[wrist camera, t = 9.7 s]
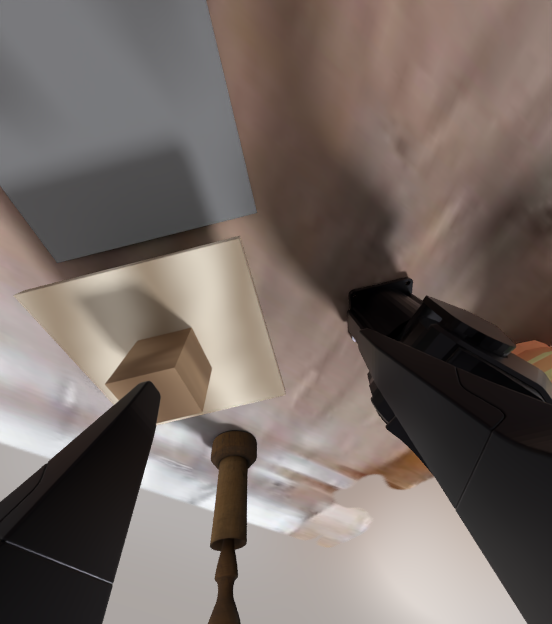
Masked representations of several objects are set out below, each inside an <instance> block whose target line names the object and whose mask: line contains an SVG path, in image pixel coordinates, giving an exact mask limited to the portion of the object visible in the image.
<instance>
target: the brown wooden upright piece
mask: <svg viewBox="0 0 552 624" xmlns="http://www.w3.org/2000/svg"><path fill="white" fill-rule="evenodd" d="M256 458H257V442H256V439H255V437H254V436H253V435H251V434H249V433H247V432H242V431H229V432H225V433H222V434H220V435H218V436H217V437H216V438H215V439H214V441H213V445H212V453H211V461H212V463H213V464H214V465H215V466H216V468H217V469H219V474H218V484H217V493H216V502H215V510H214V519H213V527H212V535H211V543H210V547H211V548H212V549H213V550H217V551H221V553H220V557H219V561H218V565H217V569H216V574H215V581H216V582H217V584H218V597H217V602H216V604H215V607H214V610H213V612H212V615H211V617H210V619H209V622H208V624H240V618H239V614H238V611H237V608H236V605H235V602H234V598H233V585H234V581H235V580H236V579H237V577H238V570H237V561H236V555H235V549H239V548H242V547H243V546H245V545H246V542H247V473H248V468H249V467H250V466H251V465H252V464H253V463H254V462H255V461H256Z"/></svg>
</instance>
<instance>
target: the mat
mask: <svg viewBox="0 0 552 624" xmlns="http://www.w3.org/2000/svg"><path fill="white" fill-rule="evenodd" d="M0 186H1V188H2V189H3V190H4V192H5V193H6V194H7V196H8V197H9V199H10V200H11V201H12V203H13V204H14V205H15V207H16V208H17V209H18V211H19V212H20V213H21V215H22V216H23V217H24V219H25V220H26V221H27V223H28V224H29V226H30V227H31V228H32V230H33V231H34V232H35V234H36V235H37V236H38V238H39V239H40V240H41V242H42V243H43V244H44V246H45V247H46V248H47V250H48V251H49V253H50V254H51V255H52V257H53V258H54V259H55V261H56V262H57V263H59V262H63V261H67V260H71V259H75V258H79V257H83V256H87V255H91V254H95V253H99V252H103V251H107V250H111V249H115V248H119V247H123V246H127V245H131V244H135V243H139V242H143V241H147V240H151V239H155V238H159V237H163V236H167V235H171V234H175V233H179V232H183V231H187V230H191V229H195V228H199V227H203V226H207V225H211V224H215V223H219V222H223V221H227V220H231V219H235V218H239V217H243V216H246V215H250V214H254V213H257V210H256V206H255V202H254V198H253V194H252V190H251V185H250V181H249V177H248V173H247V169H246V165H245V160H244V156H243V152H242V148H241V144H240V140H239V135H238V131H237V127H236V123H235V119H234V115H233V110H232V106H231V102H230V98H229V94H228V90H227V86H226V81H225V77H224V73H223V69H222V65H221V61H220V56H219V52H218V48H217V44H216V40H215V36H214V31H213V27H212V23H211V19H210V15H209V11H208V6H207V2H206V0H0Z"/></svg>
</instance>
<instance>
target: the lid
mask: <svg viewBox="0 0 552 624" xmlns="http://www.w3.org/2000/svg"><path fill="white" fill-rule="evenodd" d="M13 296H14V297H15V298H16V299H17V300H18V301H19V302H20V303H21V304H22V306H23V307H24V308H25V309H26V310H27V311H28V312H29V313H30V314H31V315H32V316H33V317H34V319H35V320H36V321H37V322H38V323H39V324H40V325H41V326H42V327H43V328H44V329H45V331H46V332H47V333H48V334H49V335H50V336H51V337H52V338H53V339H54V340H55V341H56V342H57V344H58V345H59V346H60V347H61V348H62V349H63V350H64V351H65V352H66V353H67V354H68V356H69V357H70V358H71V359H72V360H73V361H74V362H75V363H76V364H77V365H78V366H79V367H80V369H81V370H82V371H83V372H84V373H85V374H86V375H87V376H88V377H89V378H90V379H91V381H92V382H93V383H94V384H95V385H96V386H97V387H98V388H99V389H100V390H101V391H102V392H103V394H104V395H105V396H106V397H107V398H108V399H109V400H110V401H111V402H112V403H113V404H114V405H115V404H116V403H117V402H118V401H119V400H120V399H121V398H123V397H124V396H125V395H126V394H127V393H128V392H130V391H131V390H132V389H133V388H134V387H135V386H137V385H138V384H139V383H141V382H145V381H151V382H152V383H153V384H154V385H155V387H156V388H157V390H158V391H159V392H160V395H161V400H160V406H159V412H158V418H157V423H156V425H160V424H164V423H169V422H173V421H177V420H181V419H186V418H190V417H194V416H198V415H203V414H207V413H211V412H216V411H220V410H224V409H228V408H233V407H237V406H241V405H245V404H250V403H254V402H258V401H262V400H267V399H271V398H275V397H279V396H284V395H286V393H285V387H284V384H283V381H282V377H281V374H280V371H279V367H278V364H277V360H276V357H275V354H274V350H273V347H272V343H271V340H270V337H269V333H268V330H267V326H266V323H265V320H264V316H263V313H262V309H261V306H260V303H259V299H258V296H257V292H256V289H255V286H254V282H253V279H252V275H251V272H250V269H249V265H248V262H247V258H246V255H245V252H244V248H243V245H242V241H241V238H240V236H237V237H233V238H230V239H226V240H222V241H218V242H214V243H210V244H206V245H202V246H198V247H194V248H190V249H186V250H182V251H178V252H174V253H170V254H166V255H162V256H158V257H154V258H150V259H147V260H143V261H139V262H135V263H131V264H127V265H123V266H119V267H115V268H111V269H107V270H103V271H99V272H95V273H91V274H87V275H83V276H79V277H75V278H71V279H67V280H64V281H60V282H56V283H52V284H48V285H44V286H40V287H36V288H32V289H28V290H25V291H22V292H20V293H18V294H16V295H13Z"/></svg>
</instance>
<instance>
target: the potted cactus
mask: <svg viewBox="0 0 552 624" xmlns="http://www.w3.org/2000/svg"><path fill="white" fill-rule="evenodd" d="M516 346H517V347H516V348H515V349H514V350H513V351H512V352H511V353H513V354H515V355H516V356H518V357H520V358H522V359H523V360H525V361H527V362H528V363H530V364H532V365H534V366H535V367H537V368H539V369H540V370H542V371H543V372H544V373H545V374H546V375H547V377H548V378H549V380H550V381H551V383H552V347H549V346H548V345H547V344H545V343H542V342H539V341H536V340H533V341H528V342H523V343H518V344H516Z"/></svg>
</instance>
